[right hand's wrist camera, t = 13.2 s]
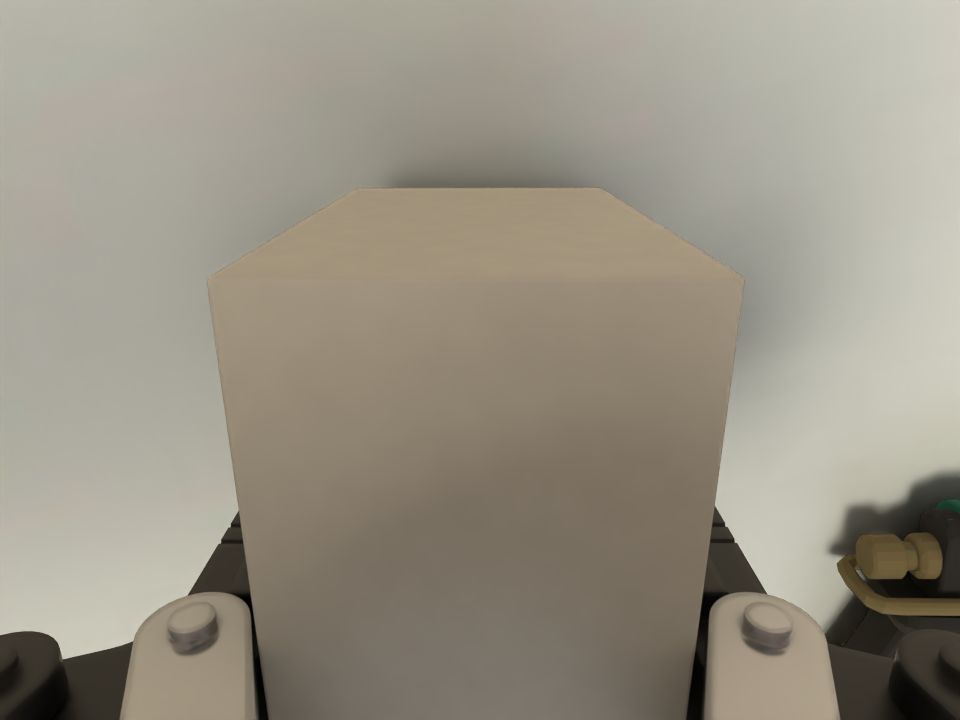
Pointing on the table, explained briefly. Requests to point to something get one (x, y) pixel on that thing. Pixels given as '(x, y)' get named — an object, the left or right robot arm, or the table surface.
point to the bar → (476, 453)
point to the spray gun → (907, 581)
